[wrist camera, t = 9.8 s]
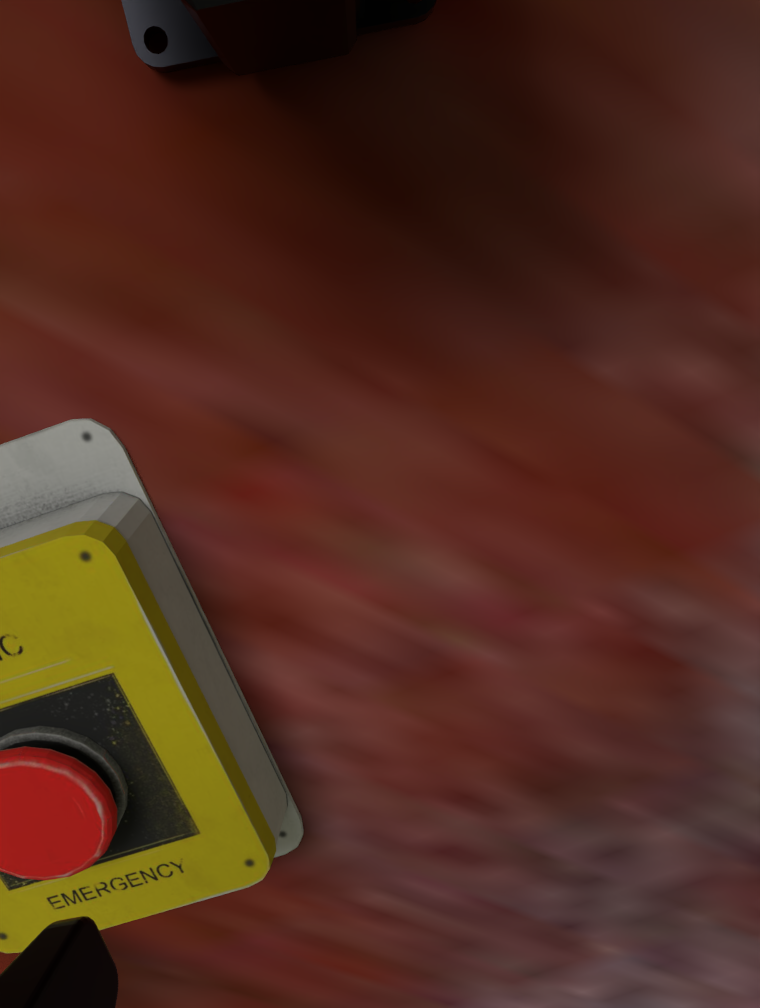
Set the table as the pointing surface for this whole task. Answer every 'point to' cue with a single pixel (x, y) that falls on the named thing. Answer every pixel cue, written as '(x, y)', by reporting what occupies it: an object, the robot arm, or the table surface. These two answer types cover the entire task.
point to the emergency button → (115, 706)
